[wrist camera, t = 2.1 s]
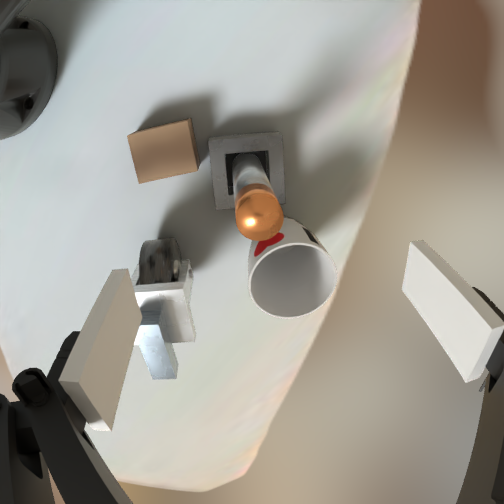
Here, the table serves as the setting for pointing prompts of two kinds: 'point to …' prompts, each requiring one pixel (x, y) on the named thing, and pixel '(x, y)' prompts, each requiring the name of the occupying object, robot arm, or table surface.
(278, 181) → the grey square socket base
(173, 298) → the caster wheel
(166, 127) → the block
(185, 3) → the table surface
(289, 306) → the cup
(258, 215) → the pin
